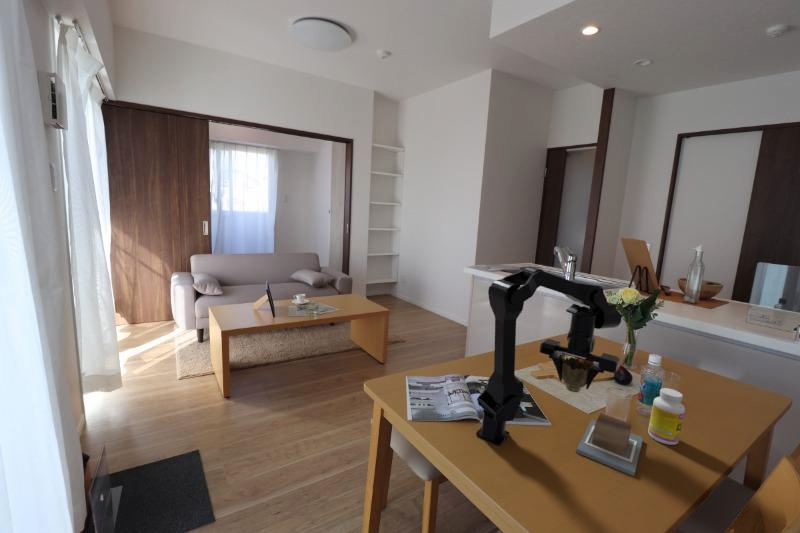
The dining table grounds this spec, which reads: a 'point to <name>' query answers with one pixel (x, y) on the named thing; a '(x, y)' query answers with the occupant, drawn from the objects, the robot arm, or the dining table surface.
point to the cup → (575, 373)
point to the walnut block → (612, 434)
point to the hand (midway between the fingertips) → (574, 384)
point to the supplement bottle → (667, 417)
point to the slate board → (611, 452)
